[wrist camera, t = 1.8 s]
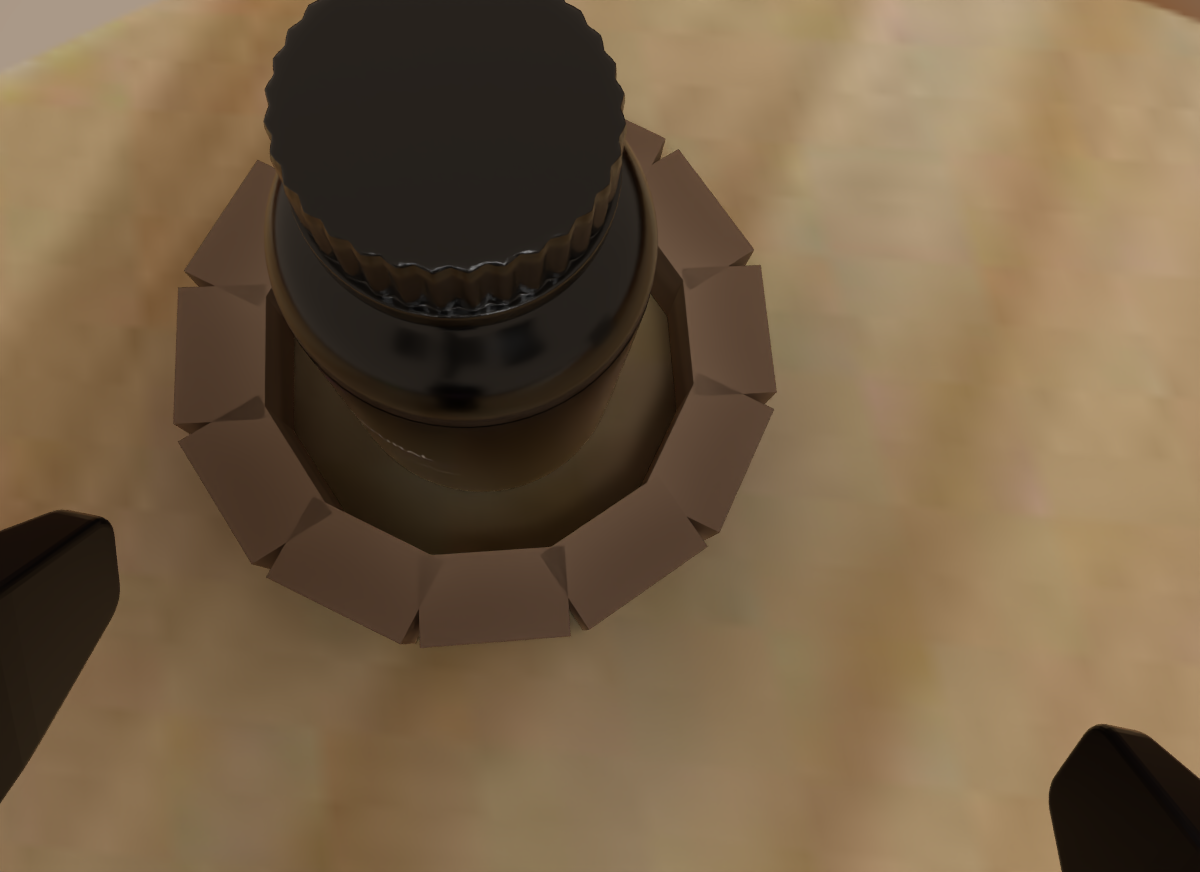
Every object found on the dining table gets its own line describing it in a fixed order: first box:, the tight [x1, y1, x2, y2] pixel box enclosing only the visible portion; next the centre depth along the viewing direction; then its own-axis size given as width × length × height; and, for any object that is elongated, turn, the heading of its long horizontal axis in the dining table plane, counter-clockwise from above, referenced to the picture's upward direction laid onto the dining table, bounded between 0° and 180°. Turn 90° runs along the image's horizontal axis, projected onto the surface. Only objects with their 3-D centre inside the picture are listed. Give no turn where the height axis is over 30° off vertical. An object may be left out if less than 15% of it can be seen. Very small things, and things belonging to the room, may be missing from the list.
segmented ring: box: [173, 120, 777, 648], centre depth 22 cm, size 14×14×2 cm
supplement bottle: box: [264, 0, 658, 492], centre depth 17 cm, size 7×7×12 cm
